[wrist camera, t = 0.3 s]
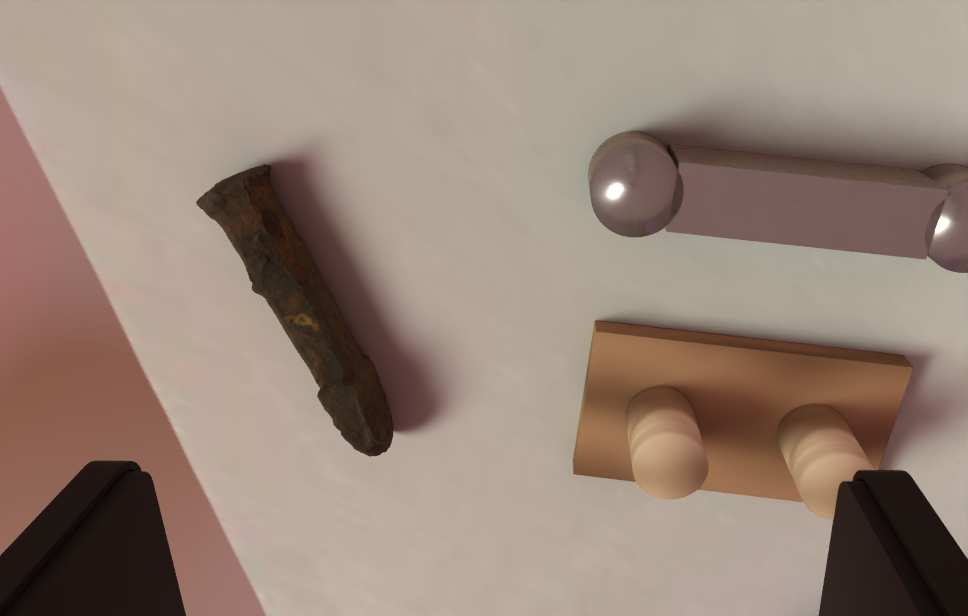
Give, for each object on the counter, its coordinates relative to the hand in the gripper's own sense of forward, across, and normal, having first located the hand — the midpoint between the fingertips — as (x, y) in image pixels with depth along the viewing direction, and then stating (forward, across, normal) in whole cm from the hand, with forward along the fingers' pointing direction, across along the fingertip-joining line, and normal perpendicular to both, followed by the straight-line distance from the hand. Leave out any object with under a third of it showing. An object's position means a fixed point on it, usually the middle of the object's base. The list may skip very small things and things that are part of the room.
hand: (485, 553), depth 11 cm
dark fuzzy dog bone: (+36, +13, +11) cm, 40 cm away
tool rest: (+35, -11, +18) cm, 41 cm away
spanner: (+35, -13, +4) cm, 38 cm away
